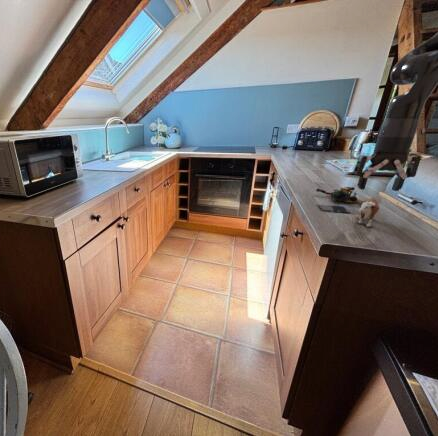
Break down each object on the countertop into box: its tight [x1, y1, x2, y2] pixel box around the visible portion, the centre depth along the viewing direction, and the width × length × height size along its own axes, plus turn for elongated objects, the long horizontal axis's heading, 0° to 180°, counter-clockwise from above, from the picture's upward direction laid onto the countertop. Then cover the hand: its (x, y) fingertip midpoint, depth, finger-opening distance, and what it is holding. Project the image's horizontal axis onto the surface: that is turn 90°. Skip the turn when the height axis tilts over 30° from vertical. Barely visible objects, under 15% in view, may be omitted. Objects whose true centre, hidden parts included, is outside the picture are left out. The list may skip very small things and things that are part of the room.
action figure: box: [316, 186, 366, 204], centre depth 100 cm, size 6×15×15 cm
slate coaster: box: [318, 204, 350, 214], centre depth 91 cm, size 8×6×1 cm
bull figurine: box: [357, 197, 380, 228], centre depth 78 cm, size 4×13×8 cm, turn 131°
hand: (377, 189), depth 76 cm, fingers open, 8 cm apart
